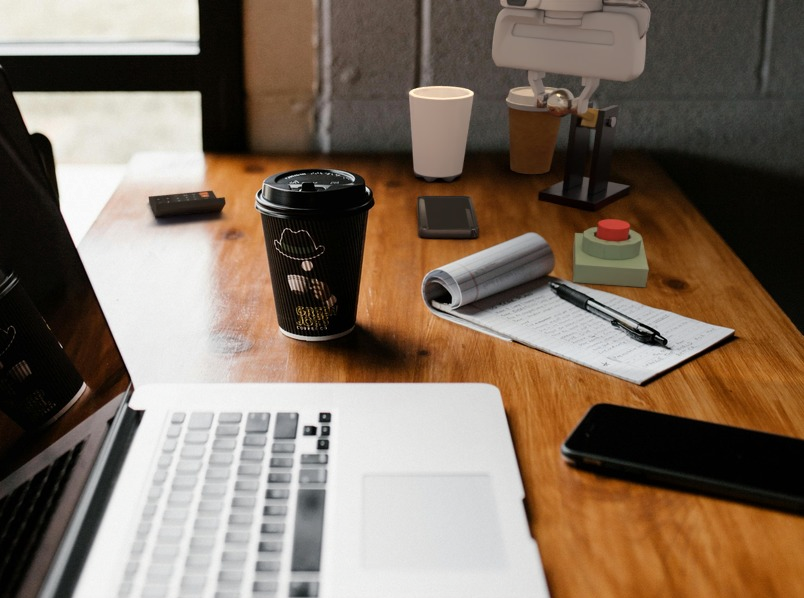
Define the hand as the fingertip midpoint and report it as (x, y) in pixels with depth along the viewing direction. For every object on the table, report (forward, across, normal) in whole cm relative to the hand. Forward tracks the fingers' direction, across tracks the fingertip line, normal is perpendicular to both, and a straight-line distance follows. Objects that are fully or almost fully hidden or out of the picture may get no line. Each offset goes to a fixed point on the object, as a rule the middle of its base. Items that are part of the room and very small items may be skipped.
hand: (559, 110), depth 113 cm
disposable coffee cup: (+14, +14, -18) cm, 27 cm away
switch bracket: (+14, 0, -10) cm, 17 cm away
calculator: (+14, +40, +32) cm, 53 cm away
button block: (+14, -16, +14) cm, 25 cm away
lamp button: (+10, -16, +14) cm, 23 cm away
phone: (+14, +9, +12) cm, 20 cm away
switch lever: (+3, 0, -4) cm, 5 cm away
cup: (+14, +23, -5) cm, 27 cm away
